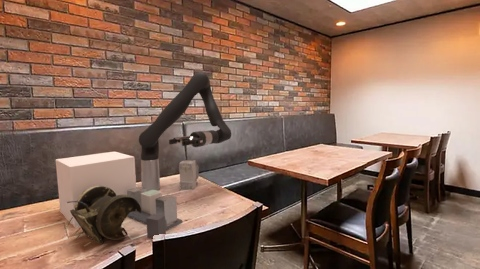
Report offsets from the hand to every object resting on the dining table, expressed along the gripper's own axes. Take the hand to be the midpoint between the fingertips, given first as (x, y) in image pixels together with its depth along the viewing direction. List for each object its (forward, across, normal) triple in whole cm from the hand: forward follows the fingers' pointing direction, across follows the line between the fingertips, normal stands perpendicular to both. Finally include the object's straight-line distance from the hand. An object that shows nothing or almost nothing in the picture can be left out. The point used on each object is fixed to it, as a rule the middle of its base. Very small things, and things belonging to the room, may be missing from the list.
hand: (175, 142), depth 118 cm
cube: (+22, -27, +31) cm, 47 cm away
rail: (+14, 0, +30) cm, 33 cm away
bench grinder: (+34, -3, +30) cm, 45 cm away
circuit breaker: (-26, -19, +30) cm, 44 cm away
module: (+14, 0, +29) cm, 32 cm away
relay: (+22, +13, +30) cm, 40 cm away
